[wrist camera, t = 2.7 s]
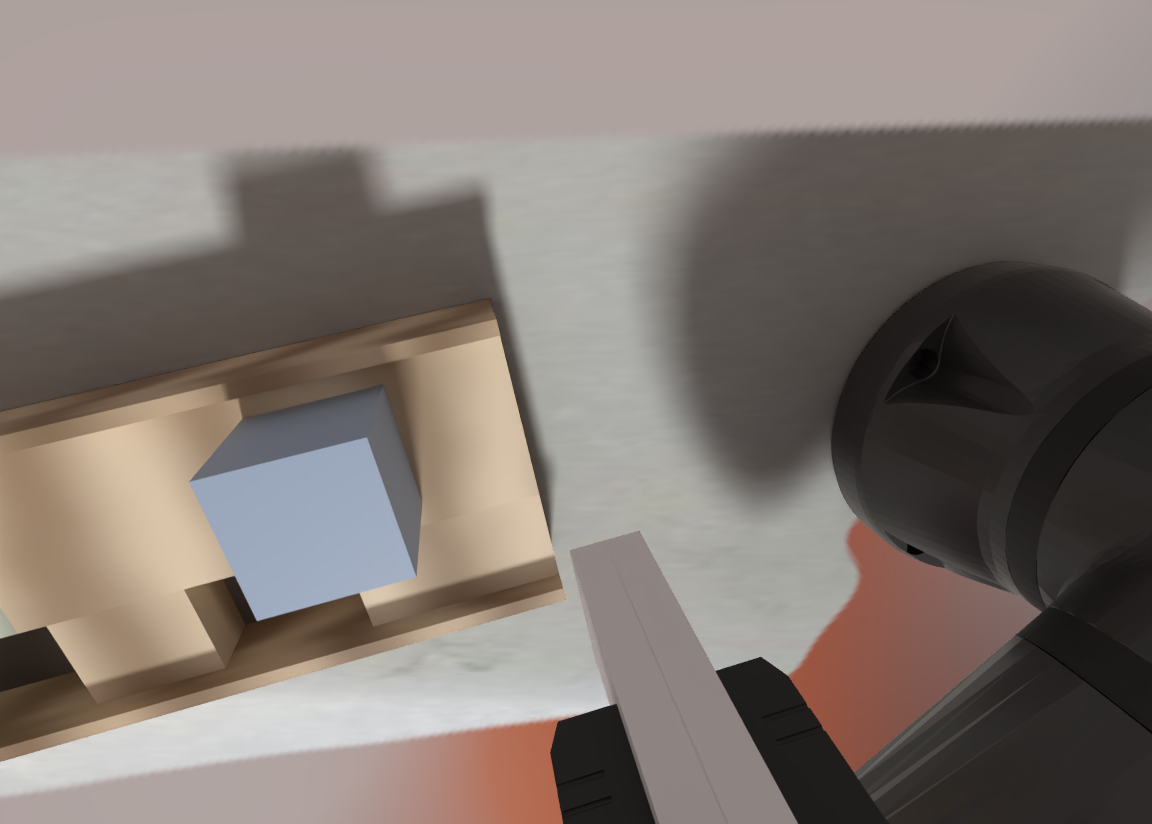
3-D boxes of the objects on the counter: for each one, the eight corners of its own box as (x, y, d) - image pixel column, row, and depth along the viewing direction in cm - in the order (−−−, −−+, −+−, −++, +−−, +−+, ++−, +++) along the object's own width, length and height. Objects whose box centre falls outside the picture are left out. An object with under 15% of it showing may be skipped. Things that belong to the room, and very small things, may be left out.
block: (383, 384, 23) (367, 437, 18) (422, 502, 25) (416, 577, 20) (242, 418, 22) (188, 481, 18) (293, 536, 24) (257, 621, 20)
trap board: (489, 298, 25) (506, 348, 18) (551, 547, 30) (584, 668, 23) (-340, 490, 22) (-729, 646, 15) (-129, 736, 27) (-346, 946, 20)
